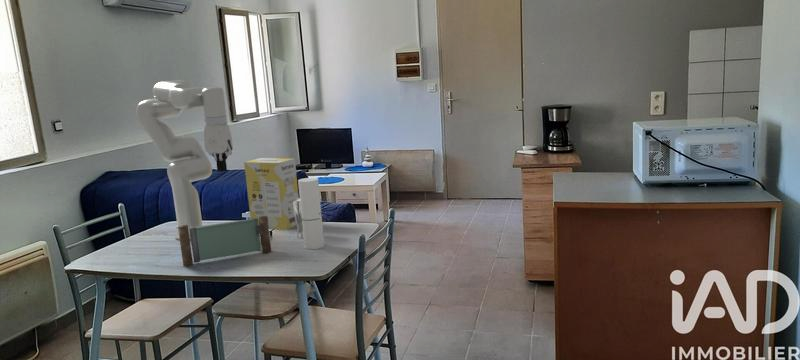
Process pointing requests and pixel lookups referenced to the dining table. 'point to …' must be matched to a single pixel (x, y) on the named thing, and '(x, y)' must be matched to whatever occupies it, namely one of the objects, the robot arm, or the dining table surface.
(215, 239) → the gate
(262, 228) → the post
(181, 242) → the hinge post
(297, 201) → the beer glass
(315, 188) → the cylindrical container
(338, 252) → the dining table surface
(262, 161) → the pasta box
